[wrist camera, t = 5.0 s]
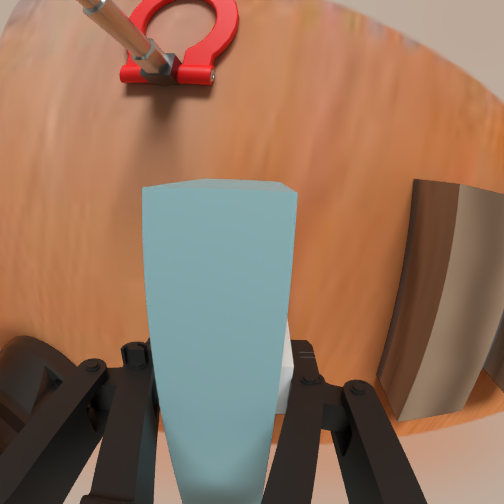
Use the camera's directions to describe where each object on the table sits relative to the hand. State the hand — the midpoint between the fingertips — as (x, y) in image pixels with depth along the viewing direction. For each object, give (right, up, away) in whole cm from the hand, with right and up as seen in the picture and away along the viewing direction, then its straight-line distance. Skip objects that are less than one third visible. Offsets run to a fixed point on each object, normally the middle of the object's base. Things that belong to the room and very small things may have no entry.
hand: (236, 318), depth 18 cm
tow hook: (-4, +20, 0) cm, 20 cm away
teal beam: (0, 0, 0) cm, 0 cm away
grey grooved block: (+21, +1, +3) cm, 21 cm away
